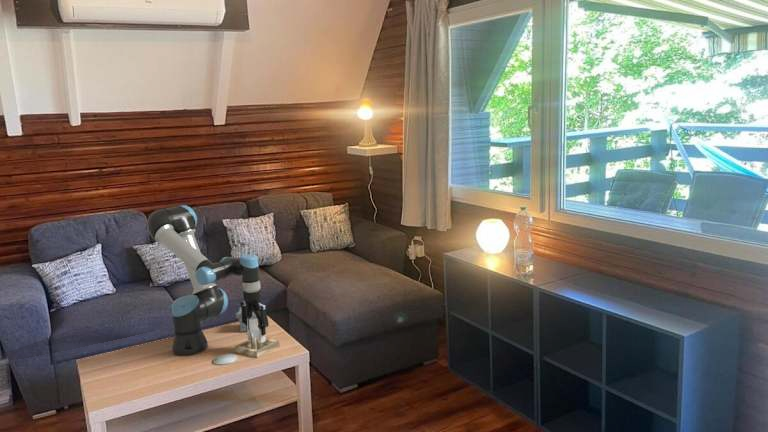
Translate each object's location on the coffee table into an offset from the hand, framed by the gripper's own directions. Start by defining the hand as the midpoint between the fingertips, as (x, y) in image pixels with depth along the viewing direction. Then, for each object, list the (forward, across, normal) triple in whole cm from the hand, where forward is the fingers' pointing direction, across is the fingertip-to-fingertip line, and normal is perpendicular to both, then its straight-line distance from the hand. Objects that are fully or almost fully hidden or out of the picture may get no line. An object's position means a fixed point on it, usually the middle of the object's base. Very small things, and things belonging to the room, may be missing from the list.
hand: (256, 340), depth 269 cm
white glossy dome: (+4, -4, -15) cm, 16 cm away
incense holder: (+4, -23, +16) cm, 28 cm away
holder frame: (+4, 0, 0) cm, 4 cm away
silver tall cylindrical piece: (+4, 0, 0) cm, 4 cm away
